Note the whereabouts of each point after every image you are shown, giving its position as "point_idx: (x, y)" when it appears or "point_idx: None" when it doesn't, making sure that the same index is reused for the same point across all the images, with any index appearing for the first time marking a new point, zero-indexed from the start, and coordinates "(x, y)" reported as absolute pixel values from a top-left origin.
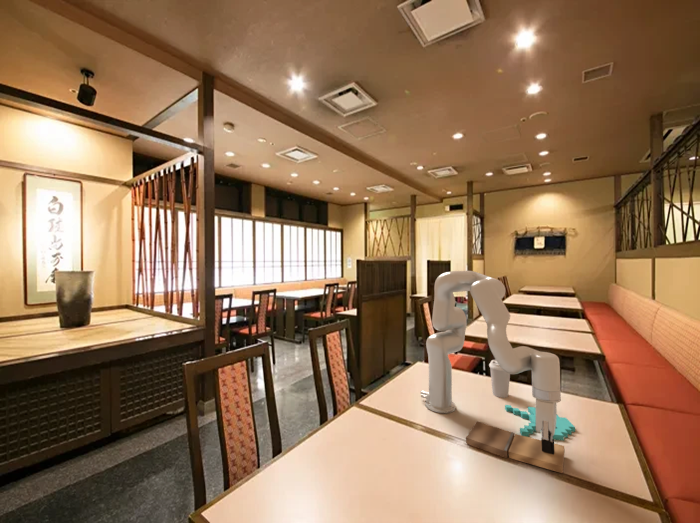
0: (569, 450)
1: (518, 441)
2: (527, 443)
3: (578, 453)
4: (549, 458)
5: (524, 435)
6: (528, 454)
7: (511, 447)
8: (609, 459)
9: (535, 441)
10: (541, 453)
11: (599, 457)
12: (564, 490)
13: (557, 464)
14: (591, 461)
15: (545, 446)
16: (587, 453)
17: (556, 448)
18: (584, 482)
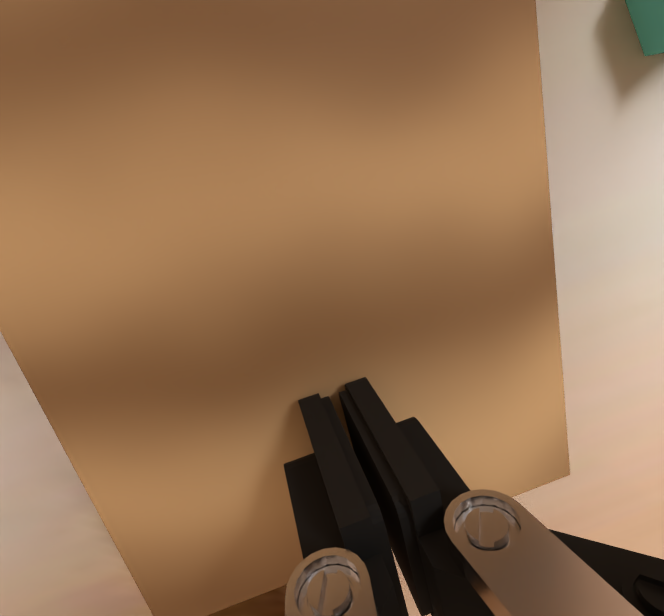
0: (611, 399)
1: (327, 38)
2: (363, 176)
3: (606, 446)
4: (208, 507)
5: (640, 3)
6: (73, 314)
7: (33, 14)
8: (641, 553)
9: (486, 235)
10: (249, 406)
11: (632, 523)
12: (9, 610)
13: (157, 600)
14: (556, 523)
15: (295, 509)
16: (640, 473)
17: (474, 456)
18: (263, 609)
